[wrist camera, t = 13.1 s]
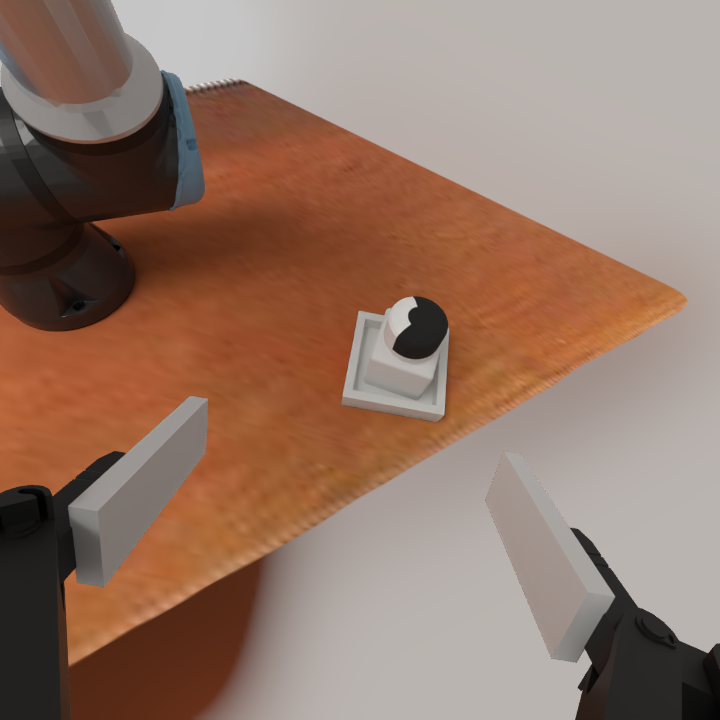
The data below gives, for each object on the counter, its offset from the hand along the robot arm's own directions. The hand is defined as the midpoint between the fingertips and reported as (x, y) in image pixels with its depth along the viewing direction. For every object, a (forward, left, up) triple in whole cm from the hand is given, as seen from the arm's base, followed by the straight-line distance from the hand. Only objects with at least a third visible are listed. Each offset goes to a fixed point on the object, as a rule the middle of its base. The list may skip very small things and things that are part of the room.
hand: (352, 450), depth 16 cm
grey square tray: (+5, +17, -26) cm, 32 cm away
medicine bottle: (+5, +17, -26) cm, 31 cm away
